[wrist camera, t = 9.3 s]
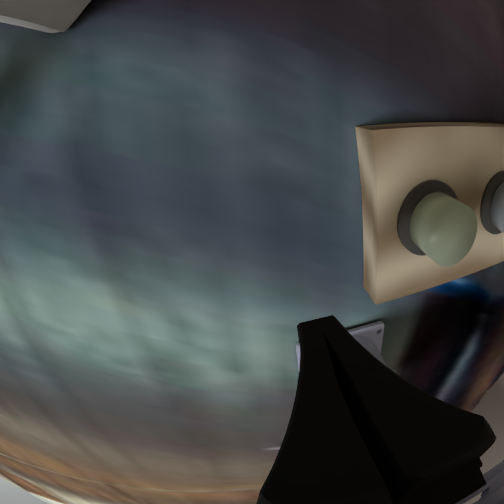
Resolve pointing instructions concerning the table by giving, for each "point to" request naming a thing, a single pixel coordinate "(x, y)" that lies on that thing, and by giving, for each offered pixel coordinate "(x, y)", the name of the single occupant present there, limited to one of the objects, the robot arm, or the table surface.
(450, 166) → the button panel
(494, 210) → the button slate
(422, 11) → the table surface
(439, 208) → the button sage
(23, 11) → the photo printer
